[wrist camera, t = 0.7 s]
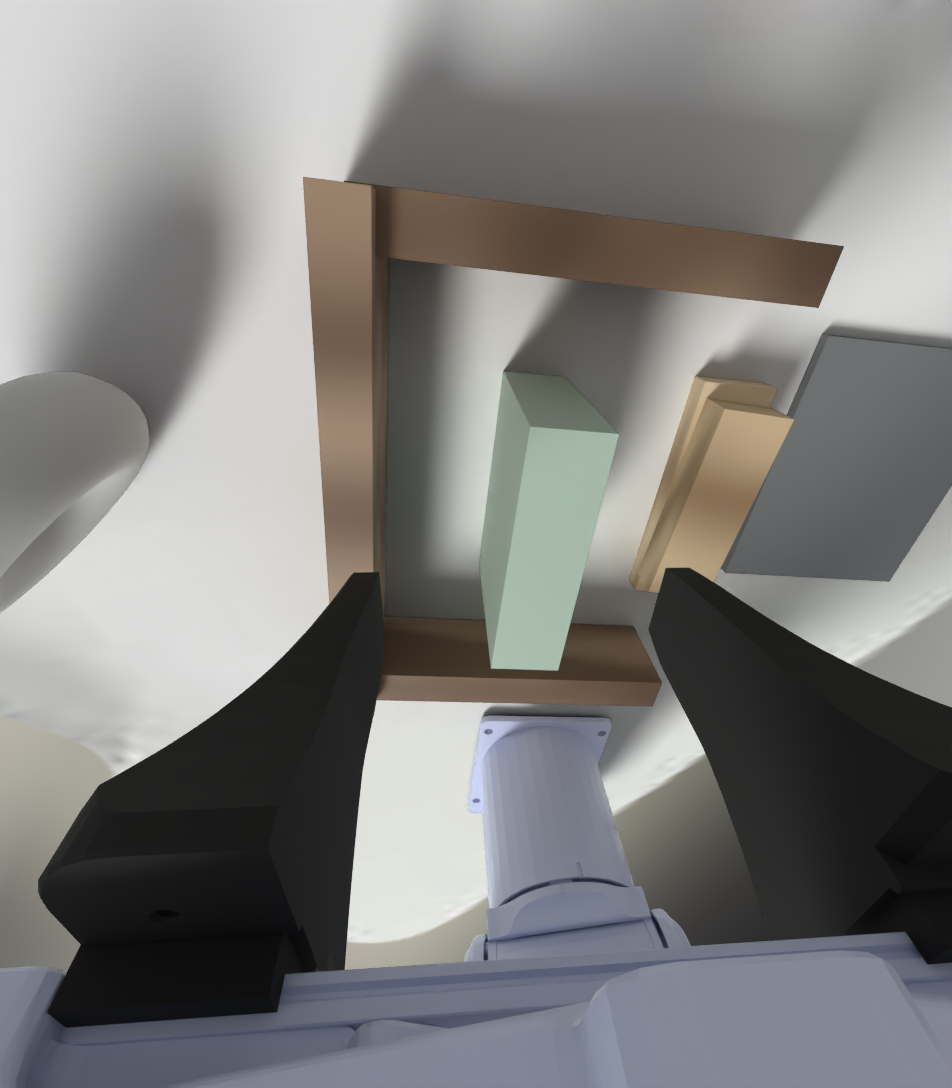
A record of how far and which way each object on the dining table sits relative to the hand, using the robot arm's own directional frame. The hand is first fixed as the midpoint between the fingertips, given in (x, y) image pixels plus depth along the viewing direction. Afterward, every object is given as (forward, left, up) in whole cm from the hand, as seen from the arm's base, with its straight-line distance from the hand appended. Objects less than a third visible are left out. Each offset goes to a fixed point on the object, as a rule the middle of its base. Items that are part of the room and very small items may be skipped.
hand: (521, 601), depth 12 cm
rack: (-1, -1, -10) cm, 10 cm away
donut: (-1, +16, -10) cm, 19 cm away
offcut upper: (-1, -9, -9) cm, 13 cm away
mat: (+1, -17, -10) cm, 20 cm away
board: (-1, -1, -10) cm, 10 cm away
